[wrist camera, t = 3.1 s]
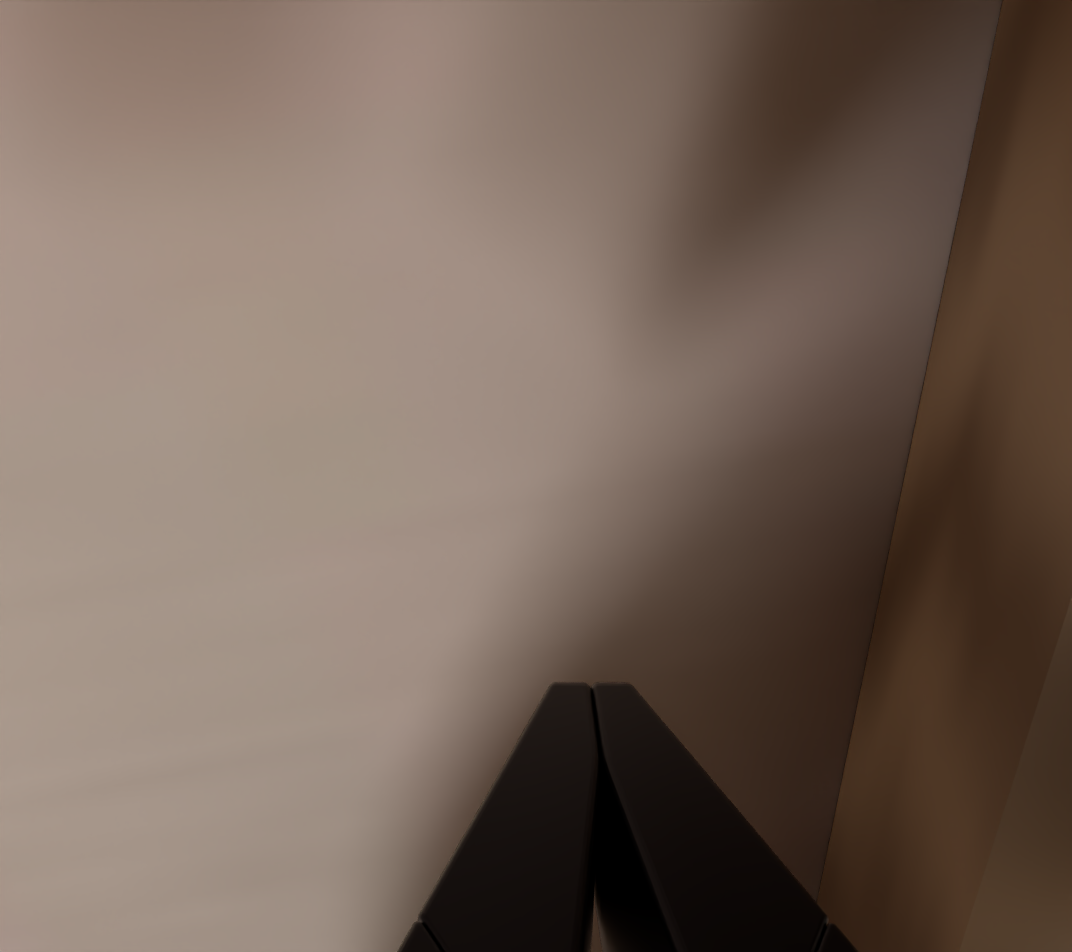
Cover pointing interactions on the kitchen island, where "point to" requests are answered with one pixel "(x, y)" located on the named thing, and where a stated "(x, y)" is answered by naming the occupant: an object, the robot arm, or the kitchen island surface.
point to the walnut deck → (979, 566)
